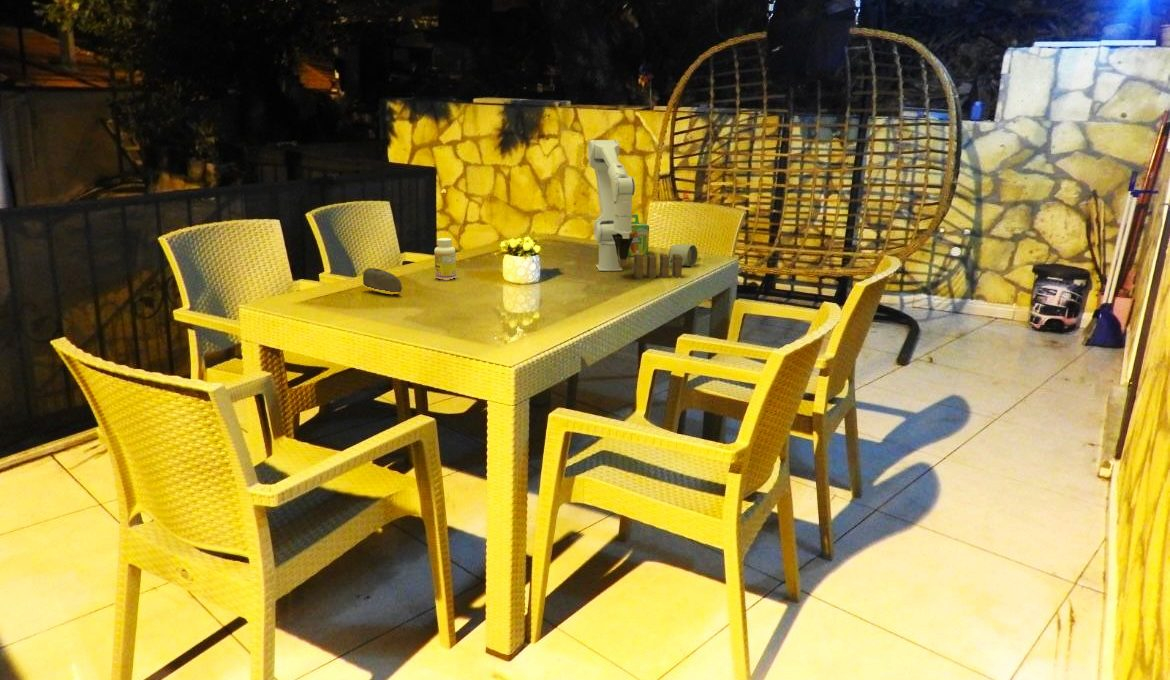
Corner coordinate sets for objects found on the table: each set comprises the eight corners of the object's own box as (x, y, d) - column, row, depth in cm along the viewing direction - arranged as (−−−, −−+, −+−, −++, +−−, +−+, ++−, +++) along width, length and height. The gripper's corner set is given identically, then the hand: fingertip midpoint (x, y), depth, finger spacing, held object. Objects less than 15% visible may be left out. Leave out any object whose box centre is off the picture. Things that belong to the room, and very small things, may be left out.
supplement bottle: (434, 277, 275) (432, 237, 272) (454, 276, 277) (453, 237, 274) (437, 281, 269) (435, 241, 266) (458, 280, 271) (456, 240, 268)
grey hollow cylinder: (677, 262, 304) (678, 241, 302) (697, 264, 300) (698, 243, 297) (662, 267, 296) (662, 245, 294) (683, 270, 291) (683, 247, 289)
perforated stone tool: (408, 295, 249) (406, 272, 248) (393, 298, 245) (392, 275, 244) (376, 288, 259) (374, 266, 257) (361, 291, 255) (360, 268, 253)
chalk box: (626, 257, 313) (627, 217, 309) (616, 253, 321) (617, 214, 317) (649, 255, 317) (650, 216, 313) (638, 251, 325) (639, 213, 321)
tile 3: (646, 275, 281) (646, 254, 279) (652, 275, 281) (653, 254, 279) (648, 278, 276) (649, 257, 274) (655, 278, 277) (656, 257, 275)
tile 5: (671, 274, 282) (672, 254, 280) (678, 274, 282) (678, 253, 280) (674, 277, 277) (675, 256, 275) (681, 277, 278) (682, 256, 276)
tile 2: (633, 275, 281) (633, 254, 279) (639, 275, 281) (640, 254, 279) (635, 278, 276) (636, 257, 274) (642, 278, 276) (643, 257, 274)
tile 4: (658, 275, 282) (659, 254, 280) (665, 275, 282) (666, 254, 280) (661, 278, 277) (662, 256, 275) (668, 278, 277) (669, 256, 275)
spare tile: (617, 262, 279) (617, 240, 277) (623, 262, 279) (624, 240, 277) (619, 264, 274) (619, 243, 272) (626, 264, 274) (626, 243, 272)
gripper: (607, 212, 279) (606, 253, 282) (613, 218, 265) (613, 261, 269) (628, 212, 280) (627, 253, 283) (636, 218, 266) (635, 261, 269)
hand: (621, 257), depth 276 cm, fingers closed on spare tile, 5 cm apart
